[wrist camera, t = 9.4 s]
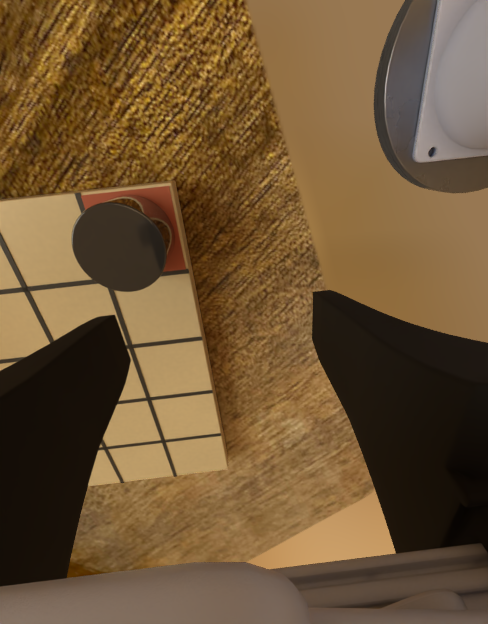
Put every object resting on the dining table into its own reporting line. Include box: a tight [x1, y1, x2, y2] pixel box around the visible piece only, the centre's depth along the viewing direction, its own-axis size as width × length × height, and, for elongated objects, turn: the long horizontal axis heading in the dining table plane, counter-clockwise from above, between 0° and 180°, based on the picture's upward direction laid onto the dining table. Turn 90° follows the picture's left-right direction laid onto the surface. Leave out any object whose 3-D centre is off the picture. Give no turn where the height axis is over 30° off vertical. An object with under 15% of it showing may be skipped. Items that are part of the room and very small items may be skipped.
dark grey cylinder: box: [71, 194, 175, 292], centre depth 15 cm, size 4×4×3 cm
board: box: [0, 180, 228, 486], centre depth 22 cm, size 20×25×2 cm
